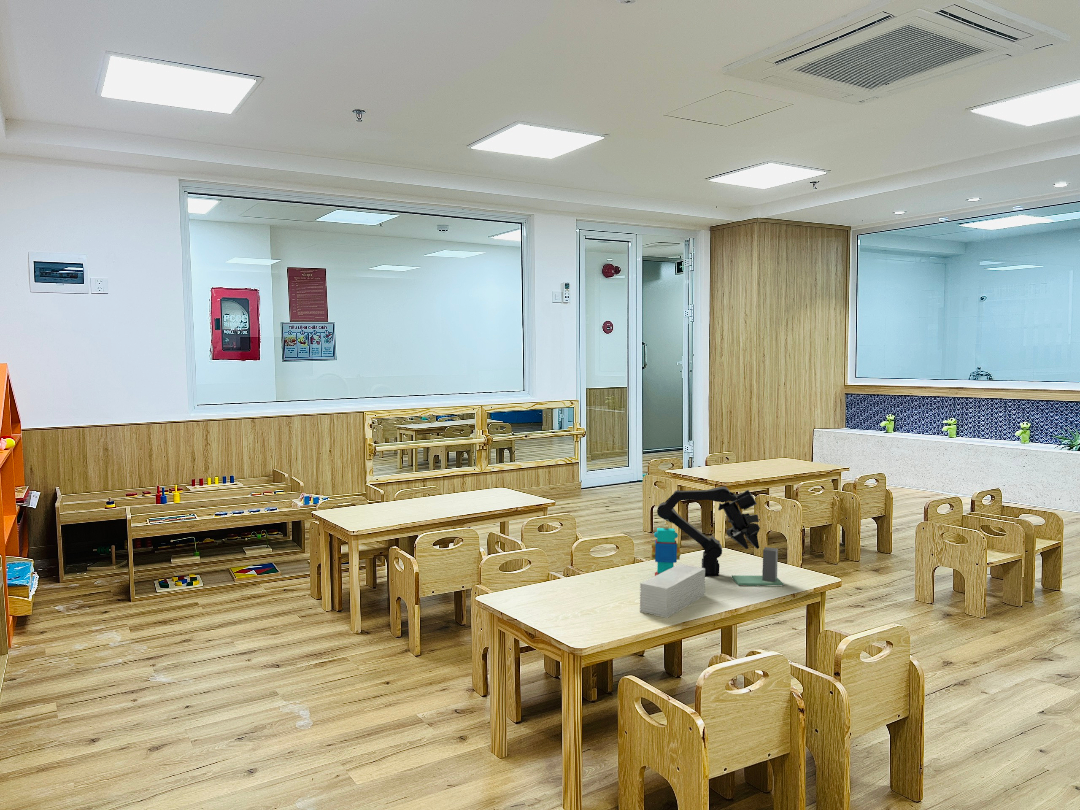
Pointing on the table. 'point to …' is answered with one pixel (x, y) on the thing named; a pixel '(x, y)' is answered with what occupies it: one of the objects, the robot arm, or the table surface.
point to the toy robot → (665, 549)
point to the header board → (753, 580)
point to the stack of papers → (672, 590)
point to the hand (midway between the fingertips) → (752, 548)
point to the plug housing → (770, 564)
